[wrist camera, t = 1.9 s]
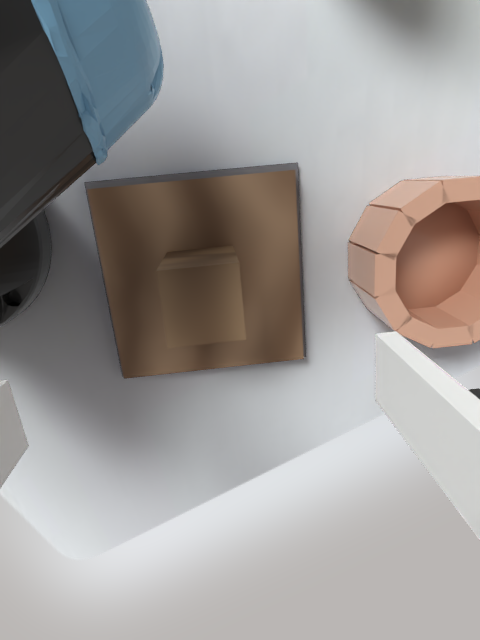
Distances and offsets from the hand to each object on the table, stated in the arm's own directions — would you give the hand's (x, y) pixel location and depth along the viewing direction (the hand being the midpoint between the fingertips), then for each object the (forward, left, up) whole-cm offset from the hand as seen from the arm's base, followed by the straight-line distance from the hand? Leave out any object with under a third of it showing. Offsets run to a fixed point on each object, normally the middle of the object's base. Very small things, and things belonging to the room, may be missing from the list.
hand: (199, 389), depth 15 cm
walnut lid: (0, 0, -20) cm, 20 cm away
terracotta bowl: (+18, 0, -21) cm, 27 cm away
